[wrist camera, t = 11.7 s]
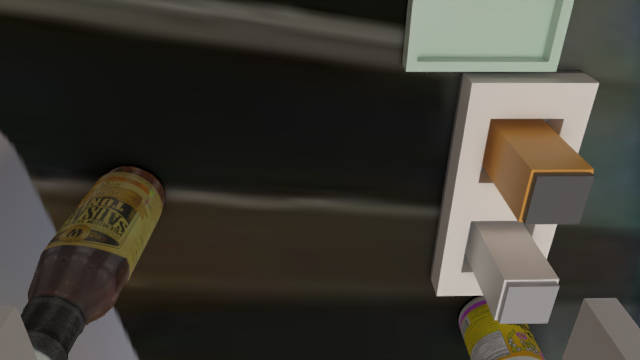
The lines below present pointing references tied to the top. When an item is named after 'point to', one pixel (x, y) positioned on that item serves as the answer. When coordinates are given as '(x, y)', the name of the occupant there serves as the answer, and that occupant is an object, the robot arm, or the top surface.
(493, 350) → the supplement bottle
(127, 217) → the sauce bottle
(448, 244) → the pdu strip
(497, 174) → the plug
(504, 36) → the tray
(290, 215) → the top surface
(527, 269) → the twin plug
